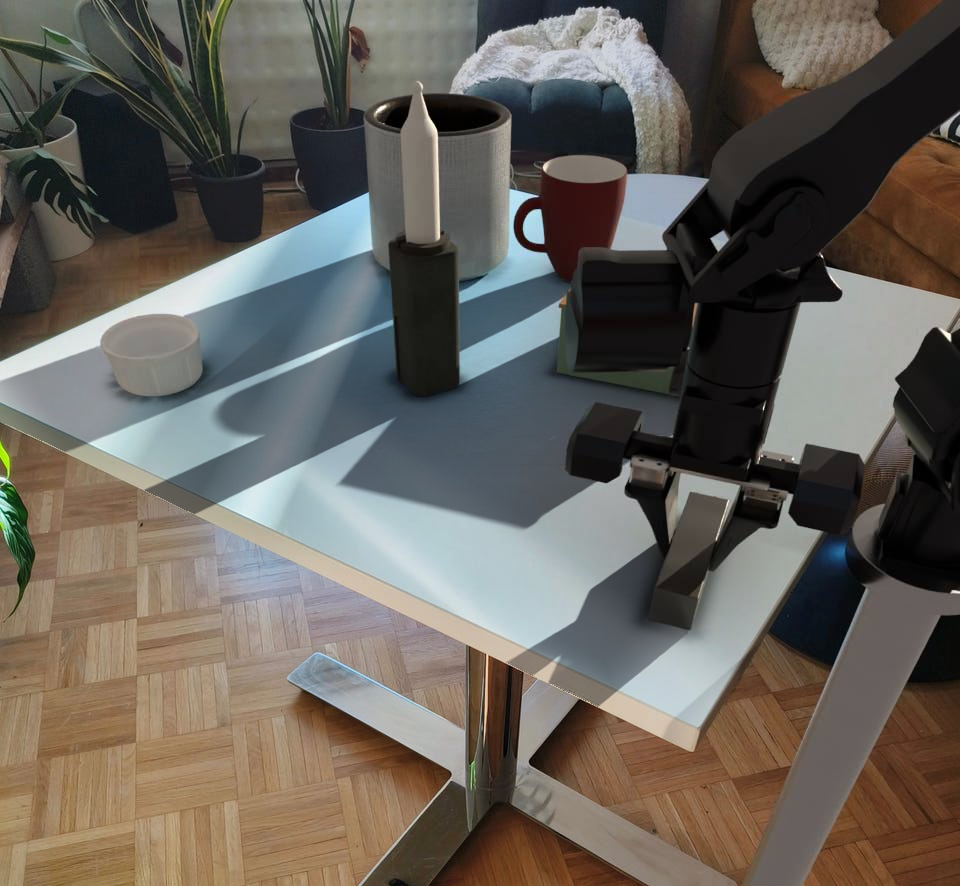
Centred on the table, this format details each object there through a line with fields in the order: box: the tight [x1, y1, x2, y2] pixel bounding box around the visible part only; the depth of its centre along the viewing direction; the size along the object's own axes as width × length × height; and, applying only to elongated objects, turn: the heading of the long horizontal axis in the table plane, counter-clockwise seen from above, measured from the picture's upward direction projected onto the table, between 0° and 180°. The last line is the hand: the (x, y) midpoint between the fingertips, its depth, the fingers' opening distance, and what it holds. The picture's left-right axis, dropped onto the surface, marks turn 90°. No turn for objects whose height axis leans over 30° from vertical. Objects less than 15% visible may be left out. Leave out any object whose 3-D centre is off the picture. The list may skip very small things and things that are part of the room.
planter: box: [363, 92, 512, 282], centre depth 101 cm, size 16×16×16 cm
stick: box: [648, 491, 730, 631], centre depth 65 cm, size 12×3×3 cm, turn 159°
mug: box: [513, 154, 628, 283], centre depth 99 cm, size 12×9×11 cm
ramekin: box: [99, 313, 204, 397], centre depth 84 cm, size 9×9×4 cm
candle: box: [388, 80, 461, 397], centre depth 77 cm, size 5×5×25 cm
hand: (689, 562), depth 65 cm, fingers closed on stick, 3 cm apart
